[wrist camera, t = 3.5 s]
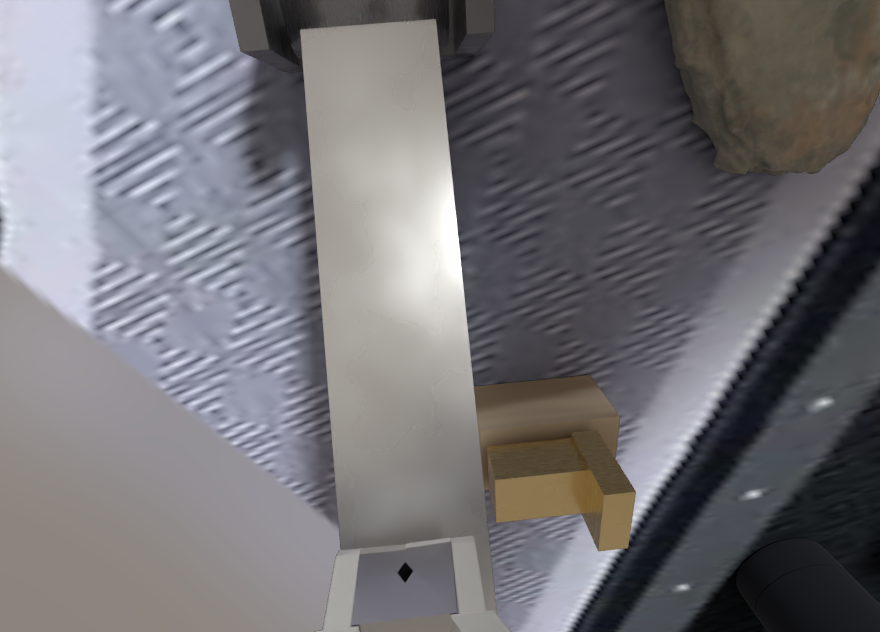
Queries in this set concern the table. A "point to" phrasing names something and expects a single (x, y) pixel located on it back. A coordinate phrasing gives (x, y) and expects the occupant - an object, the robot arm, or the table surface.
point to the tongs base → (270, 44)
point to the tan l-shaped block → (563, 485)
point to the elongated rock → (778, 77)
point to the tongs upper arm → (390, 274)
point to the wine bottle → (805, 590)
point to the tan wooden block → (542, 413)
